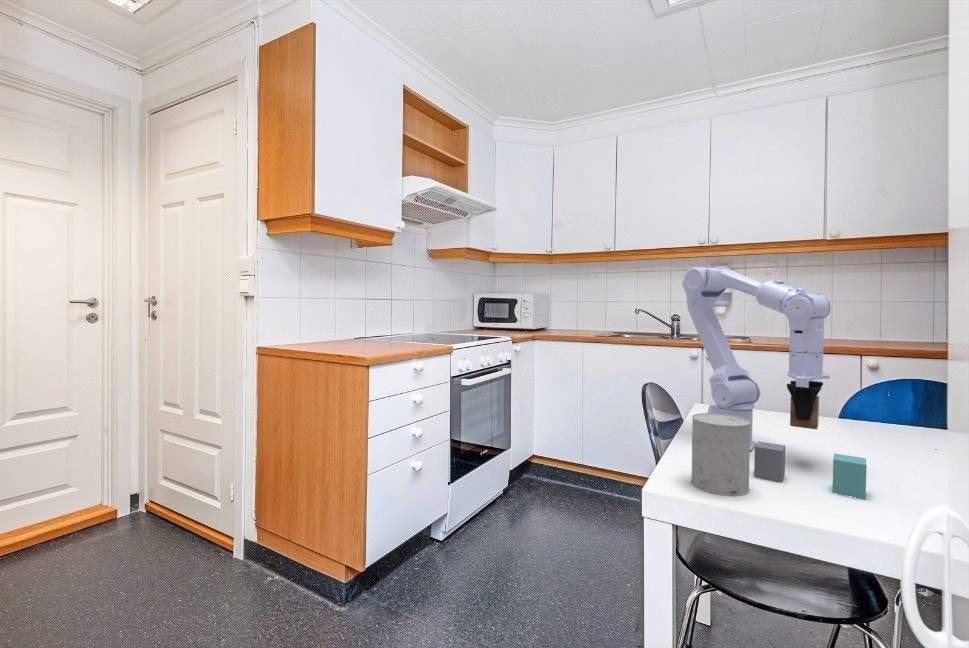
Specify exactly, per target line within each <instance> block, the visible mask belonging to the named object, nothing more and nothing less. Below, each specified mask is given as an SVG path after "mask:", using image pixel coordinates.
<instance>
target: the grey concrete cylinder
mask: <svg viewBox="0 0 969 648" xmlns="http://www.w3.org/2000/svg"><path fill="white" fill-rule="evenodd" d="M691 419H692V423H691V424H692V429H691V431H692V432H691V435H692V436H691V479H690V482H692V483H691V484H692V486H694V487H695V488H696V489H698V490H701V491H703V492H707V493H709V494H712V495H713V494H714V495H719V496H726V497H728V496H729V497H738V496H739V497H740V496H746V495H748V494H749V492H750V457H751V456H750V424H751V422H750V421H749V420H748V419H745V418H742V417H738V416H733V415H727V414H718V413H708V412H703V413H702V412H701V413H695V414H692V415H691Z"/></svg>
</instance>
